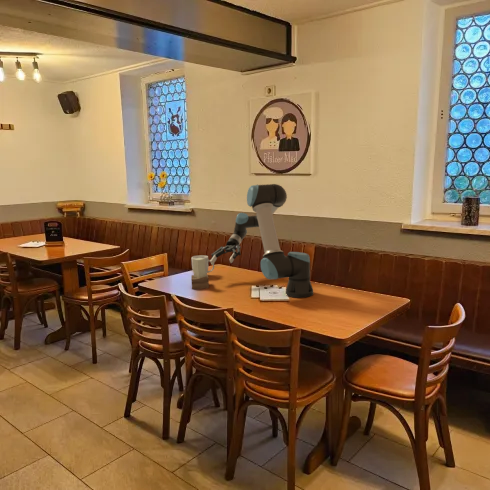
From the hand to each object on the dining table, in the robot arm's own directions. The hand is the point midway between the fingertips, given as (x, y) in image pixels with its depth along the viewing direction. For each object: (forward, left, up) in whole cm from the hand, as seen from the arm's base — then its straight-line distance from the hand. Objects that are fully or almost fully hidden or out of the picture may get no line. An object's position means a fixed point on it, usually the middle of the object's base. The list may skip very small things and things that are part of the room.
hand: (220, 262), depth 261 cm
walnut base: (0, +13, -14) cm, 19 cm away
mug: (+26, +11, -15) cm, 32 cm away
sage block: (0, +13, -8) cm, 15 cm away
